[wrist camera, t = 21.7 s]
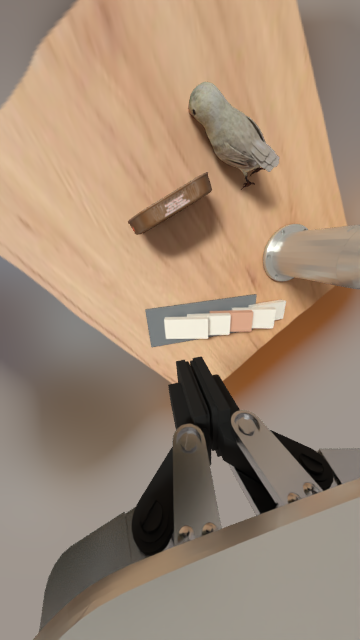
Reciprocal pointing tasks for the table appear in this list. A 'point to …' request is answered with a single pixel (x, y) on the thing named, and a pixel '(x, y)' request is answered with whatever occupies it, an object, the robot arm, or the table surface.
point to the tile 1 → (186, 327)
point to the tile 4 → (261, 316)
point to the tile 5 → (276, 304)
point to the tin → (171, 204)
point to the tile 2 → (216, 323)
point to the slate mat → (158, 314)
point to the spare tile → (239, 319)
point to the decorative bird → (231, 132)
